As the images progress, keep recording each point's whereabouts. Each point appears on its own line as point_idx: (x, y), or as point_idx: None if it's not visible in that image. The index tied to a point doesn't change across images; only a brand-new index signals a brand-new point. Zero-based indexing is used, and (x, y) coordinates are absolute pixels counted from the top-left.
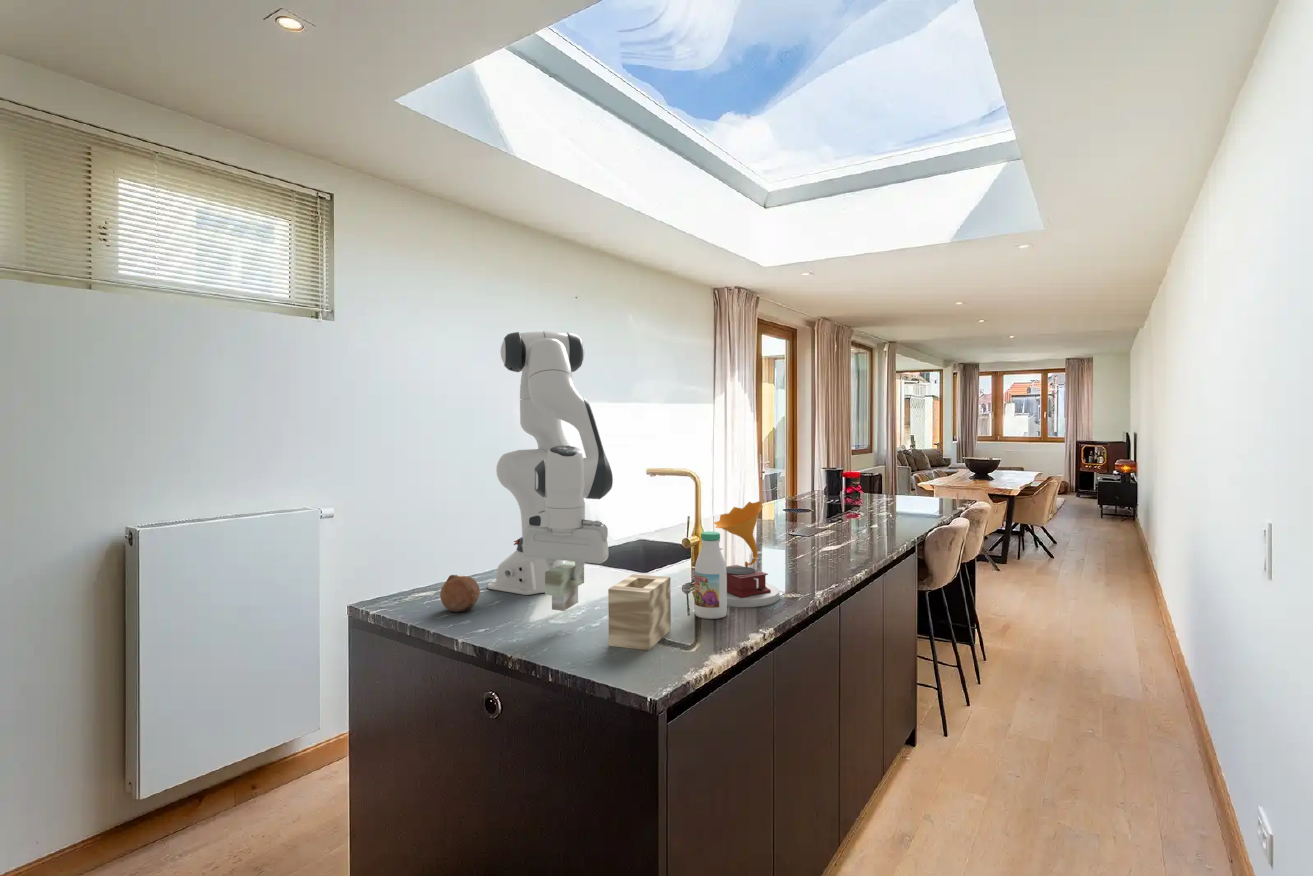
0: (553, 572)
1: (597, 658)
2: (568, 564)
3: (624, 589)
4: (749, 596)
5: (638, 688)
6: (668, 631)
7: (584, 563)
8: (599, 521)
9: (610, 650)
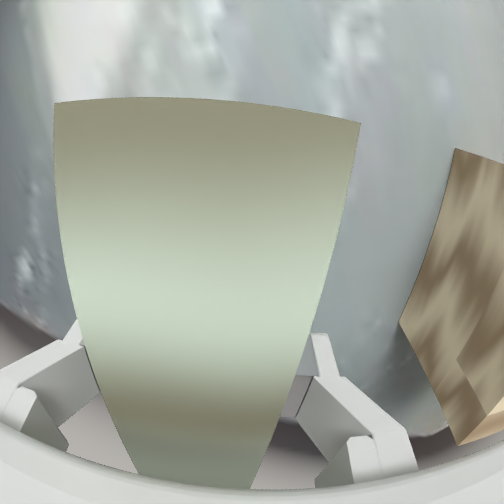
0: None
1: (374, 382)
2: (169, 366)
3: (498, 428)
4: None
5: (424, 429)
6: None
7: (407, 439)
8: None
9: (401, 343)
